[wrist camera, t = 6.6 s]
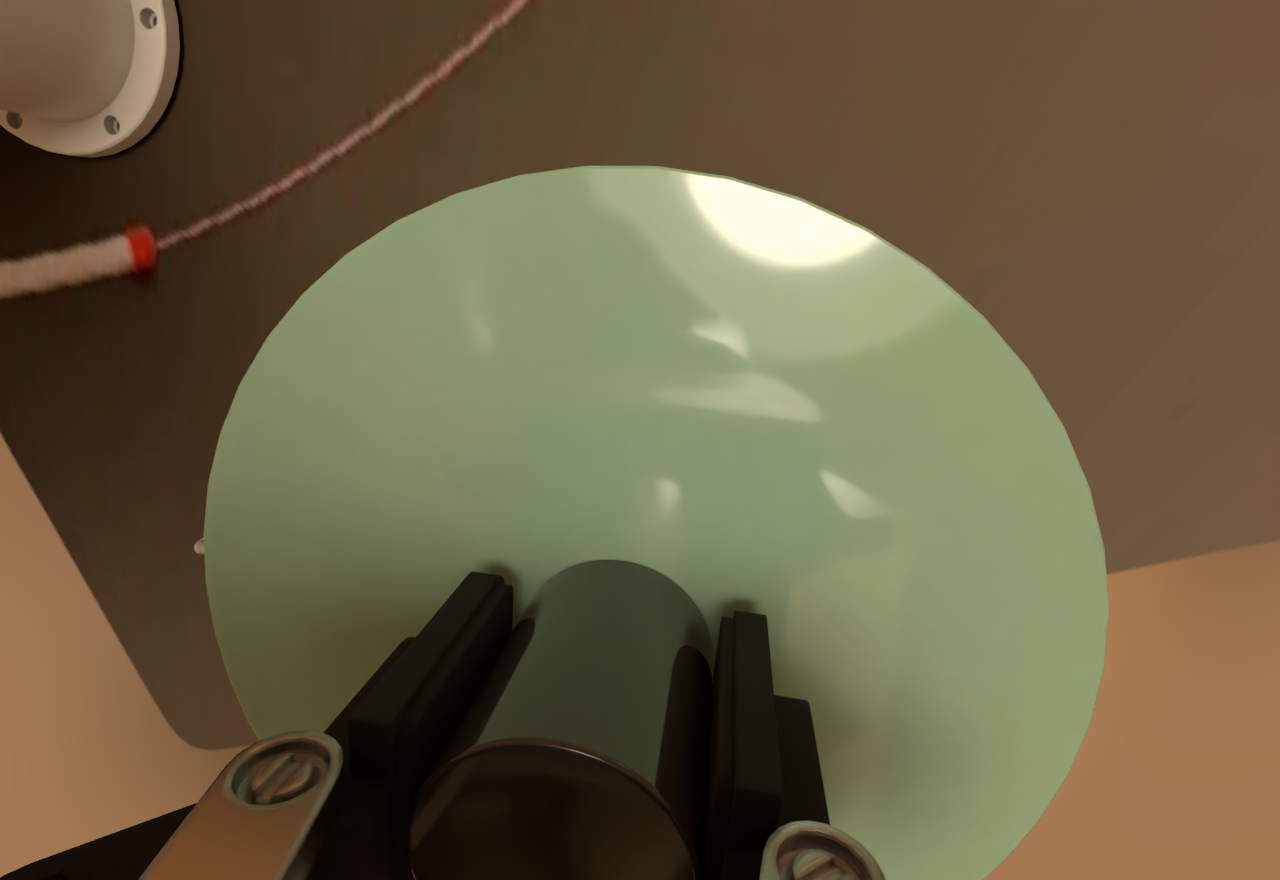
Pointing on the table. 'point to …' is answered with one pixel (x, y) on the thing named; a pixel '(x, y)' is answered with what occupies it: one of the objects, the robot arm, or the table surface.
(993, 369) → the pot lid
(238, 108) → the table surface
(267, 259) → the table surface
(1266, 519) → the table surface
